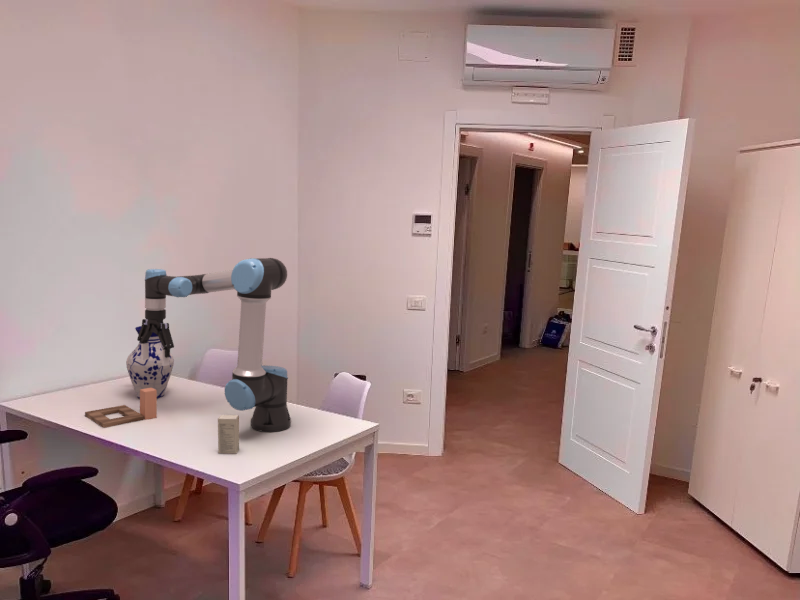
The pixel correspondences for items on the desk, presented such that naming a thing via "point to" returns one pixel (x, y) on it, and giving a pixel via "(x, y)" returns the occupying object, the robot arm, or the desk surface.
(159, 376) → the vase
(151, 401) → the peg
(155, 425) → the desk surface
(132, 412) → the socket frame
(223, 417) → the skincare box
